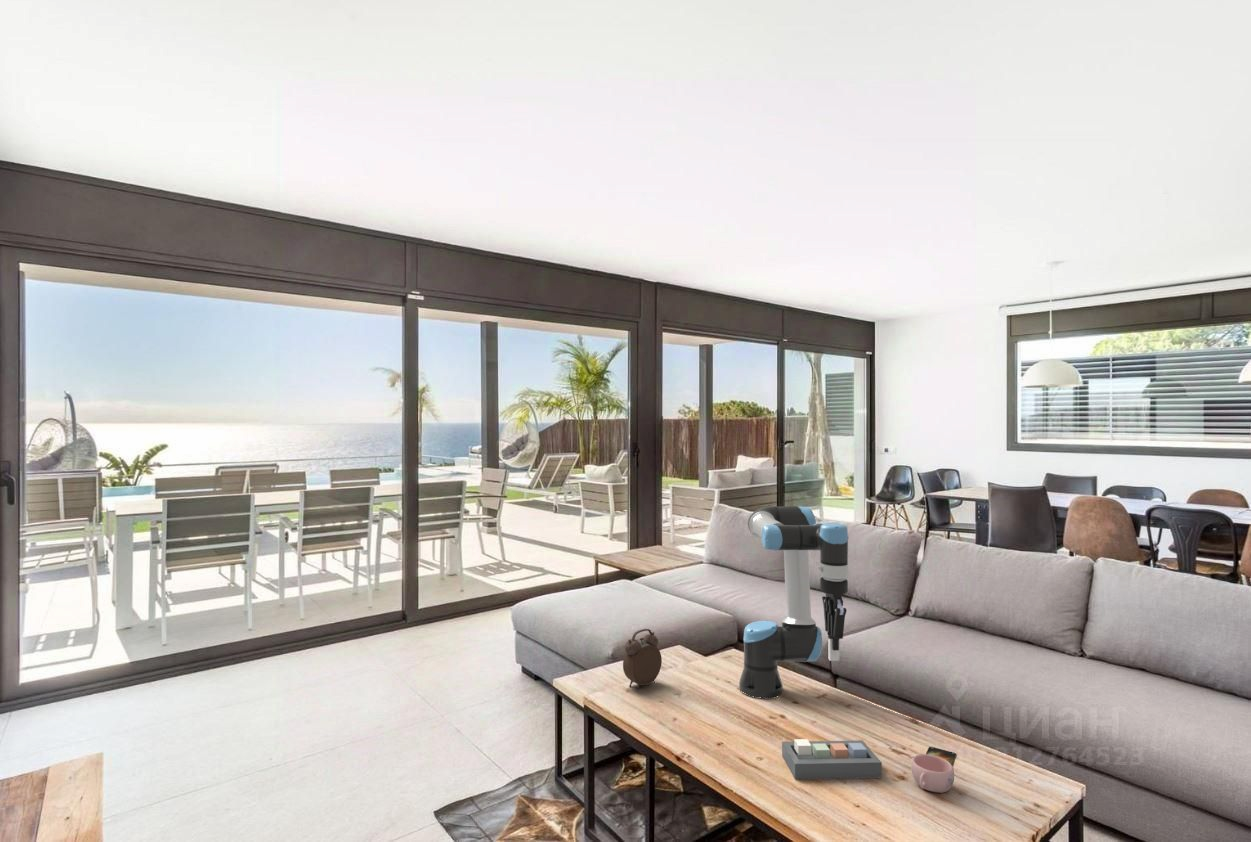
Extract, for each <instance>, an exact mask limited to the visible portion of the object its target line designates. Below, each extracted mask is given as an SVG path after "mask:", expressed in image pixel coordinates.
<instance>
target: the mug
mask: <svg viewBox="0 0 1251 842" xmlns="http://www.w3.org/2000/svg"><path fill="white" fill-rule="evenodd" d="M910 770H911V774H912V778H913V779H914V781H915V783H916V784H917V785H918V786H919V787H920V788H922V789H923V790H925V791H929V792H932V793H946V792H949V790H950V789H951V788H952V786H953V784H954V782H955V770H954V767H953V766H952V765H951V764H950V763H949V762H948V761H946V760H944V759H942V758H940V757H937V756H933V755H927V754H926V753H924V754H916V755H914V756H913V757H912V758H911V763H910Z"/></svg>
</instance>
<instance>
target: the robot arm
mask: <svg viewBox="0 0 1251 842" xmlns="http://www.w3.org/2000/svg"><path fill="white" fill-rule="evenodd" d="M747 527H748V530H749V531H750V533H751V534H752V535H753V536H754V537H756V538H758V539H761V542H762V543H761V545H762V546H763V549H765V550H766V551H775V552H776V551H783V559H784V560H783V561H784V562H783V564H784V589H785V591H784V592H785V593H784V594H785V617H784V618H783V619H782V620H781V626H778V624H777V622H775V621H771V620H769V621H768V620H757V621H753V622H750V623H749V624H746V626H745V627H744V629H743V639H742V640H743V670H742V673H741V675H740V678H739V683H738V688H740V690H741V691H742V692H744V693H746V694H748V695H750V696H749V697H751V696H754V697H753V698H755V697H761V698H760V699H765V698H767V699H774V697H775V698H777V696H778V697H780V696H781V694H782V695H783V693H784V685H783V683H782V679H781V677H780V673H779V670H778V669H779V668H778V663H779V662H803V663H806V662H816V661H817V660H819V658H820V657H821V656H820V655H821V654H822V653H821V652H822V648H823V636H822V630H821V628H820V627H818V625H817V623H816V621H815V620H814V619H813V617H812V605H811V585H810V584H811V583H810V582H811V581H810V564H809V562H810V561H809V551H820V553H819V554H820V555H819V556H820V557H819V560H820V561H819V562H820V563H819V564H820V565H819V567H818V570H820V571H819V572H820V576H821V577H820V579H819V580H820V584H819V586H820V587H819V589H820V591H821V592H823V593H824V594H825V596H824V595H823V596H822V597H821V599H822V604H823V616H824V617H823V618H824V619H823V620H824V630H825V632H827V638H828V642H827V643H828V644H827V645H828V646H827V647H828V649H827V650H828V651H827V652H828V653H827V655H828V656H827V657H828V661H830V662H840V640H842V639H844V631H845V628H844V627H845V620H846V619H845V618H846V614H847V608H846V607H843V606H844V600H843V595H846V594H848V590H849V588H848V587H849V581H848V578H849V563H848V562H849V561H848V560H849V559H848V557H849V555H848V554H849V548H848V547H849V533H848V526H846V525H845V524H841V523H837V522H825V523H822V522H821V523H820V522H818V523H817V521H816V517H815V514H814V512H813V510H812V509H811V508H810V507H808V506H800V505H796V506H792V505H791V506H789V505H788V506H787V505H786V506H773V505H771V506H765V507H761V508H758V509H756V510H754V511H753V512H752V513H751V514H750V515H749V517H748V521H747ZM740 690H739V691H740ZM741 691H740V692H741ZM742 692H741V693H742ZM744 693H743V694H744ZM748 695H747V696H748Z"/></svg>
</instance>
